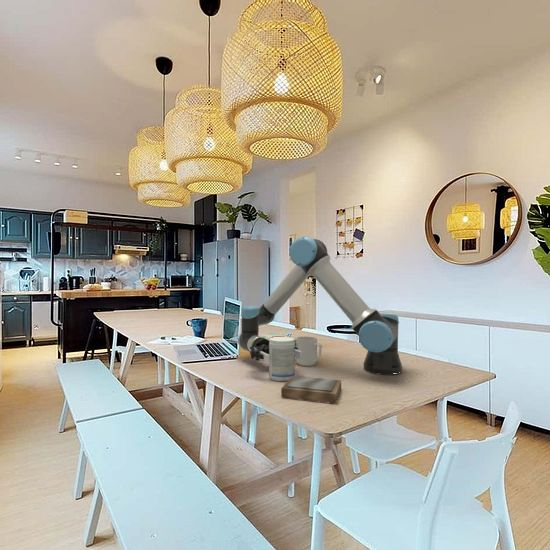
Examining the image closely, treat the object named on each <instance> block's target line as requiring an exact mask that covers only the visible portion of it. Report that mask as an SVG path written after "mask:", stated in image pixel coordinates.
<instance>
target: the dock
mask: <svg viewBox="0 0 550 550" xmlns="http://www.w3.org/2000/svg"><path fill="white" fill-rule="evenodd" d="M280 390H281V392H280V393H281V395H280V398H281V397H283V399H288V398H290V399H289V400H297V399H301V400H300V401H306V400H309V401H308V402H314V401H320V402H319V403H323V402H329V403H328V404H331V403H336V404H337V402H336V401H338V399H339V396H340V394H341V391H342V380H341V379H333V378H322V377H313V376H312V377H310V376H301V375H295V376H292V377H291V378H290V379H289V380H288V381H285V383H284V384H283V386H282V387H281V389H280ZM340 390H341V391H340ZM338 395H339V396H338ZM337 398H338V399H337Z"/></svg>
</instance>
